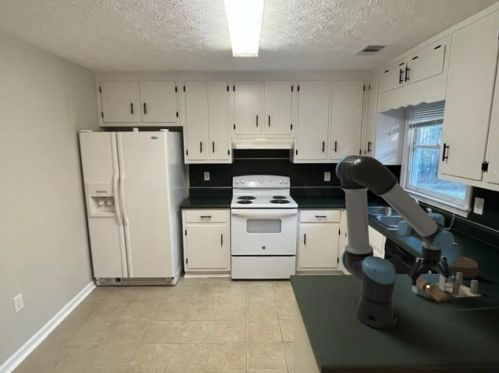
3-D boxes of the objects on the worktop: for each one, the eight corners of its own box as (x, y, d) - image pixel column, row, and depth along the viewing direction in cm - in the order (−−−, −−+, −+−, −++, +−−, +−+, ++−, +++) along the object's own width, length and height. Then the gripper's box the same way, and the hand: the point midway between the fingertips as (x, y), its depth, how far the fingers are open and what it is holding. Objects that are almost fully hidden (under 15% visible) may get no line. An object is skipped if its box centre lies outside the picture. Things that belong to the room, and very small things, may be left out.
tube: (446, 303, 121) (448, 292, 121) (435, 302, 121) (438, 291, 120) (420, 285, 137) (422, 275, 137) (410, 284, 137) (413, 275, 136)
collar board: (455, 299, 124) (457, 284, 123) (433, 285, 137) (435, 271, 136) (482, 297, 125) (483, 283, 124) (457, 283, 138) (459, 270, 137)
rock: (451, 271, 141) (445, 255, 148) (451, 282, 146) (446, 265, 153) (481, 270, 135) (474, 253, 142) (480, 281, 141) (473, 264, 148)
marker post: (452, 283, 136) (453, 277, 136) (449, 282, 138) (450, 276, 137) (455, 283, 136) (456, 277, 136) (452, 282, 138) (453, 275, 137)
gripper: (412, 252, 121) (409, 297, 124) (464, 248, 123) (459, 292, 126) (400, 245, 128) (398, 288, 131) (450, 242, 131) (446, 284, 134)
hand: (428, 290), depth 129 cm, fingers open, 13 cm apart
